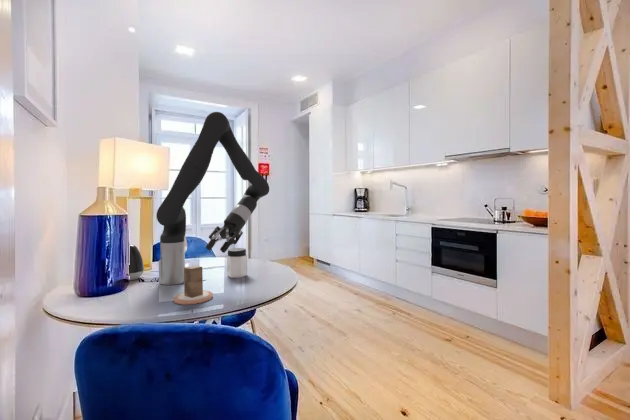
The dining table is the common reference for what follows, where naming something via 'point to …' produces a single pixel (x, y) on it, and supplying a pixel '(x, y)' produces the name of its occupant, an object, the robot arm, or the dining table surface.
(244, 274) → the jar
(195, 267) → the walnut block
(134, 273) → the dark grey tapered dome
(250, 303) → the dining table surface
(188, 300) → the terracotta dish
